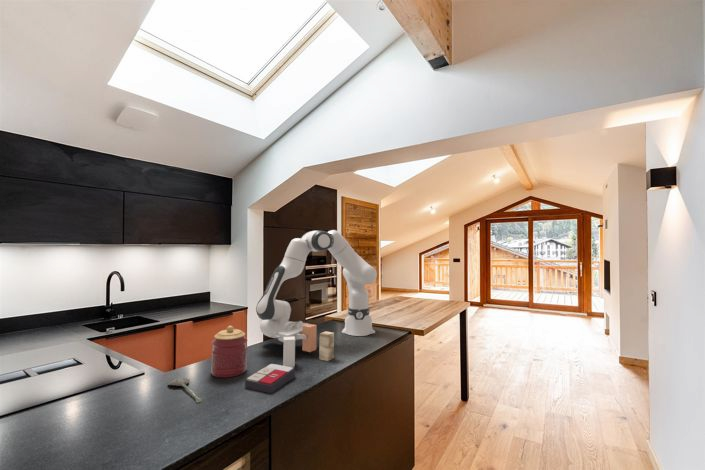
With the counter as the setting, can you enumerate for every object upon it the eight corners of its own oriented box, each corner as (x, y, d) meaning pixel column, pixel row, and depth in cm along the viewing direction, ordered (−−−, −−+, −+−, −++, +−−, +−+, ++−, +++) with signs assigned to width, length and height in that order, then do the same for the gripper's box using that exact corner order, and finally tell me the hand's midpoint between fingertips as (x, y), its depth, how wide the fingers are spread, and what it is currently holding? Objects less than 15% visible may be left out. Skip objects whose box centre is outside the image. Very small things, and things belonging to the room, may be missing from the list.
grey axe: (185, 382, 121) (165, 388, 116) (185, 372, 121) (165, 378, 116) (209, 400, 105) (187, 408, 101) (208, 389, 105) (186, 397, 101)
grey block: (283, 363, 137) (283, 336, 138) (294, 362, 138) (294, 336, 139) (283, 367, 133) (283, 340, 133) (294, 366, 134) (295, 339, 134)
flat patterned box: (244, 378, 114) (270, 361, 128) (244, 390, 114) (270, 372, 128) (271, 383, 110) (295, 366, 124) (271, 396, 110) (295, 377, 124)
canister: (235, 380, 120) (236, 331, 121) (203, 376, 123) (204, 328, 124) (252, 367, 133) (253, 323, 134) (223, 364, 136) (224, 321, 136)
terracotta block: (308, 347, 153) (308, 323, 153) (316, 349, 150) (316, 325, 151) (302, 350, 149) (302, 325, 149) (310, 352, 147) (310, 327, 147)
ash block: (325, 356, 147) (325, 331, 148) (333, 358, 145) (334, 332, 145) (319, 359, 144) (319, 333, 144) (327, 361, 141) (327, 335, 141)
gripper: (272, 329, 148) (295, 333, 141) (302, 320, 165) (324, 324, 158) (272, 343, 148) (295, 348, 141) (302, 332, 165) (324, 337, 158)
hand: (311, 335), depth 149 cm, fingers closed on terracotta block, 4 cm apart
